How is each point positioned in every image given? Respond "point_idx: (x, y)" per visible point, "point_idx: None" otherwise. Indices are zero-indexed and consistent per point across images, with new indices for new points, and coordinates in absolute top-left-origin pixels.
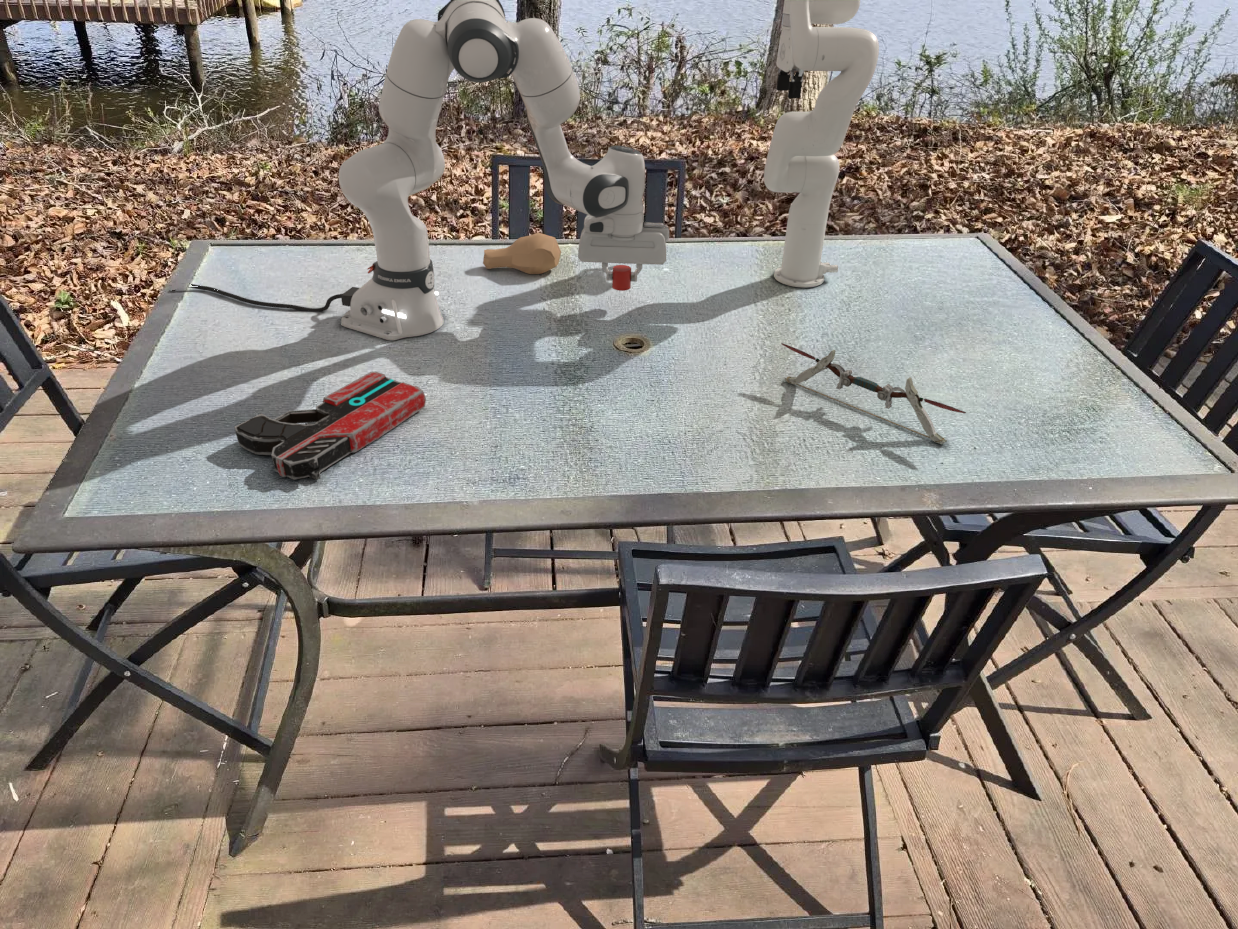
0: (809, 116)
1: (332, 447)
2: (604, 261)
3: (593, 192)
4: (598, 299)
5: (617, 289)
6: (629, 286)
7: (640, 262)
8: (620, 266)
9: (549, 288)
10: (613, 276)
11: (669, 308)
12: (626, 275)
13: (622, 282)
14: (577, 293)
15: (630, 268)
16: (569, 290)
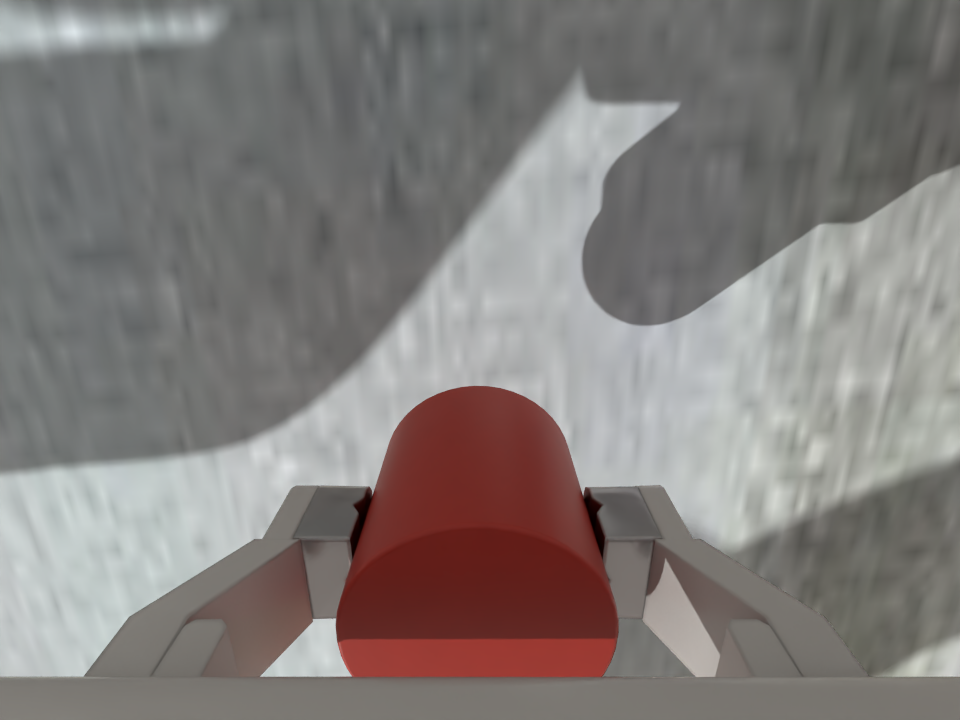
0: None
1: None
2: (880, 693)
3: None
4: (634, 476)
5: (518, 397)
6: (391, 444)
7: (54, 700)
8: None
9: (932, 602)
10: (586, 512)
11: (112, 368)
12: (407, 495)
13: (465, 430)
14: (766, 550)
15: (349, 641)
16: (810, 585)
